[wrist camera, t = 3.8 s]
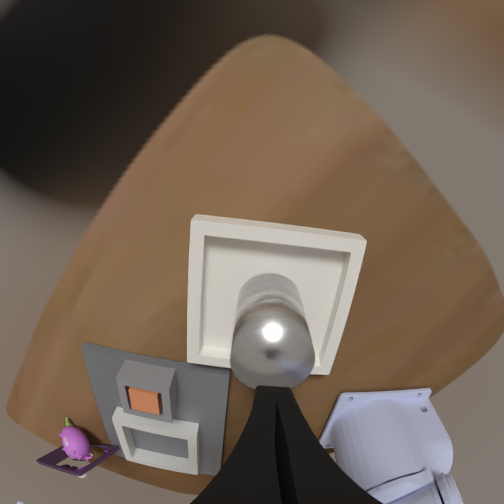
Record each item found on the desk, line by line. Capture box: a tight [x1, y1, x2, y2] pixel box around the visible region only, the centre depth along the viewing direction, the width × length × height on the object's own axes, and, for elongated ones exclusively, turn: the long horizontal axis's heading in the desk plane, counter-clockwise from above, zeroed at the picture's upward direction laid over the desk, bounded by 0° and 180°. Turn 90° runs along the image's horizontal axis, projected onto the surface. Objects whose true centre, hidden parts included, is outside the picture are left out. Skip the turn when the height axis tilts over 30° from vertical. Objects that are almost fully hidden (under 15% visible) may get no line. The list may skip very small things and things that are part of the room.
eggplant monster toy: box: [37, 418, 119, 478], centre depth 23 cm, size 7×5×9 cm
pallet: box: [82, 342, 230, 476], centre depth 23 cm, size 12×16×3 cm
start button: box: [128, 387, 163, 415], centre depth 20 cm, size 2×2×2 cm
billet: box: [230, 273, 315, 389], centre depth 17 cm, size 4×4×6 cm
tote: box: [187, 214, 367, 375], centre depth 19 cm, size 10×10×1 cm
